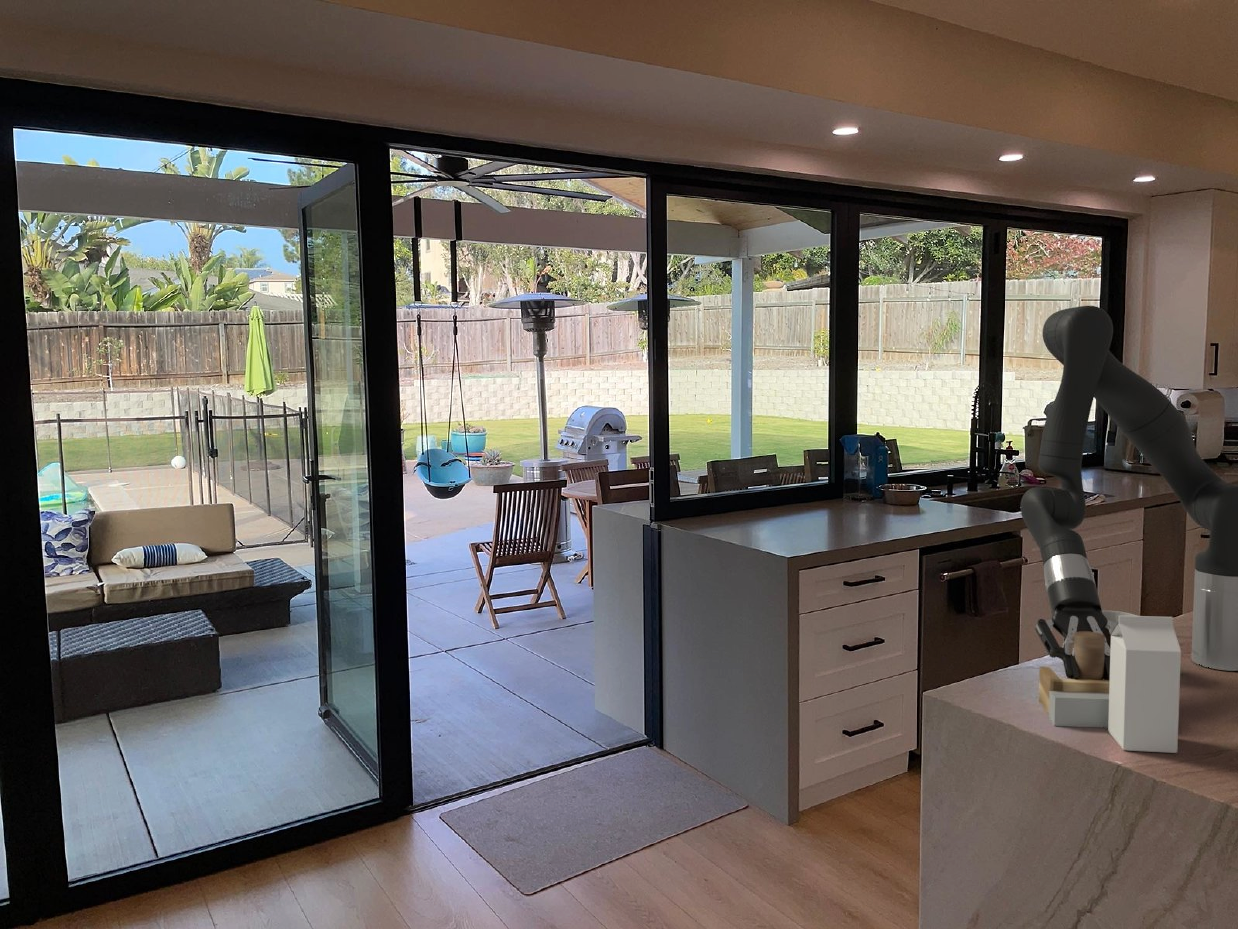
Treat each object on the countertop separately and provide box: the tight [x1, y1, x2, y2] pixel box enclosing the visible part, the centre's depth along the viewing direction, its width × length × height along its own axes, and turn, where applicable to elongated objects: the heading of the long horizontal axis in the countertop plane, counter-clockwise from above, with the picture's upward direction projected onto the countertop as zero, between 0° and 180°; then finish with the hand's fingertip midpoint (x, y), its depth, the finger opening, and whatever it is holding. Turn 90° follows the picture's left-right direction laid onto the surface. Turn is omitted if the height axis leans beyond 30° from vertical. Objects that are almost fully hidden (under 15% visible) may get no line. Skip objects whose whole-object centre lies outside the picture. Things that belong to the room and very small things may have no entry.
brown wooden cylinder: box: [1072, 631, 1105, 680], centre depth 149 cm, size 4×4×12 cm
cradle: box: [1038, 666, 1110, 714], centre depth 149 cm, size 13×8×6 cm, turn 81°
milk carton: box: [1107, 615, 1182, 754], centre depth 136 cm, size 7×7×19 cm
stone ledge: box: [1048, 691, 1109, 729], centre depth 144 cm, size 14×3×4 cm, turn 81°
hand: (1092, 680), depth 147 cm, fingers closed on brown wooden cylinder, 4 cm apart
